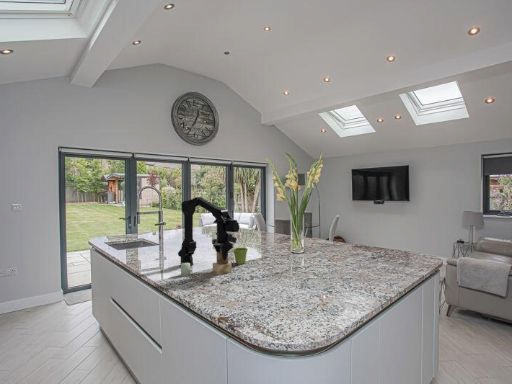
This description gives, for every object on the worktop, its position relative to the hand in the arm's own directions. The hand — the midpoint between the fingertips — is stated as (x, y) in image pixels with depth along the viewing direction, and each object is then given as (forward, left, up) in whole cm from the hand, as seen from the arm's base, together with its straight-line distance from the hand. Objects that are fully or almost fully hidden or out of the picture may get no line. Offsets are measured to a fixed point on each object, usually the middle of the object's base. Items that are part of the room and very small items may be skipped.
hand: (222, 258), depth 166 cm
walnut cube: (0, 0, -2) cm, 3 cm away
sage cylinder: (-17, -11, -7) cm, 22 cm away
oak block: (0, -1, -8) cm, 8 cm away
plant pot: (+3, +20, -7) cm, 22 cm away
